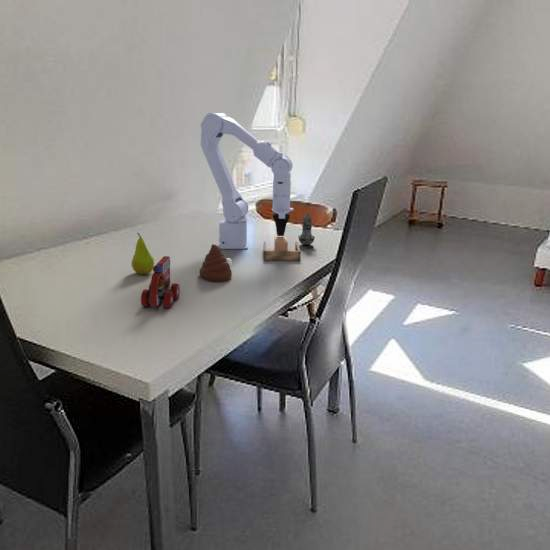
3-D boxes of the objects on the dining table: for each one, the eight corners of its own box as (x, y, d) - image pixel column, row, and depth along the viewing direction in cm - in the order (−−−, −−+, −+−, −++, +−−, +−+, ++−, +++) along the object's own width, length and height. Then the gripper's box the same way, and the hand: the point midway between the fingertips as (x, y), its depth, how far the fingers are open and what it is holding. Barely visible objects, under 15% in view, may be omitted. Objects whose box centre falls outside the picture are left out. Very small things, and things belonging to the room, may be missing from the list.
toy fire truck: (138, 312, 112) (135, 269, 109) (155, 293, 124) (152, 253, 121) (167, 313, 112) (165, 270, 108) (182, 294, 123) (180, 255, 120)
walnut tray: (263, 260, 152) (264, 251, 151) (263, 250, 164) (263, 241, 163) (300, 260, 153) (300, 251, 152) (297, 250, 164) (297, 241, 163)
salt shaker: (308, 250, 165) (310, 215, 161) (294, 247, 168) (295, 212, 164) (317, 246, 169) (319, 212, 165) (303, 243, 173) (305, 210, 169)
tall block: (274, 248, 164) (275, 254, 158) (274, 236, 163) (275, 242, 157) (286, 248, 165) (287, 254, 158) (286, 236, 163) (287, 242, 157)
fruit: (159, 272, 139) (157, 231, 136) (144, 278, 134) (141, 236, 130) (143, 268, 142) (140, 228, 139) (127, 274, 137) (123, 232, 133)
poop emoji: (193, 275, 138) (192, 243, 135) (218, 269, 143) (217, 238, 140) (214, 285, 131) (213, 251, 128) (239, 278, 136) (239, 246, 133)
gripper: (295, 198, 152) (293, 241, 156) (292, 191, 166) (291, 230, 170) (272, 198, 152) (271, 240, 156) (271, 191, 166) (271, 230, 170)
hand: (280, 235), depth 163 cm, fingers closed
